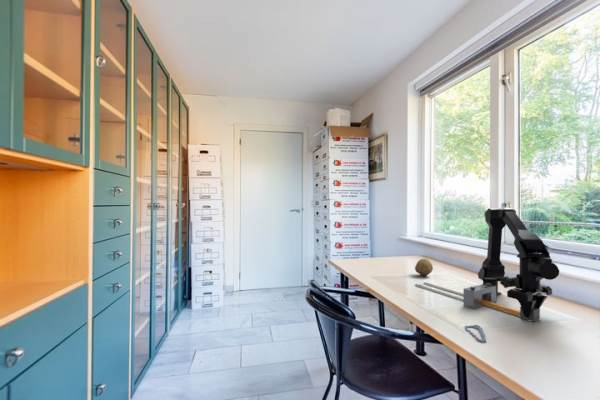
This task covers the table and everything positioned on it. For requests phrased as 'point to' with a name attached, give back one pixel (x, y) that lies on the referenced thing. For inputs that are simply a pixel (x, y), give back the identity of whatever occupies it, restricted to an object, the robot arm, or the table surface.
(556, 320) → the table surface
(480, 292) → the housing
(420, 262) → the natural sponge
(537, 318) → the grey-capped orange bar
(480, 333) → the grey curved loop
